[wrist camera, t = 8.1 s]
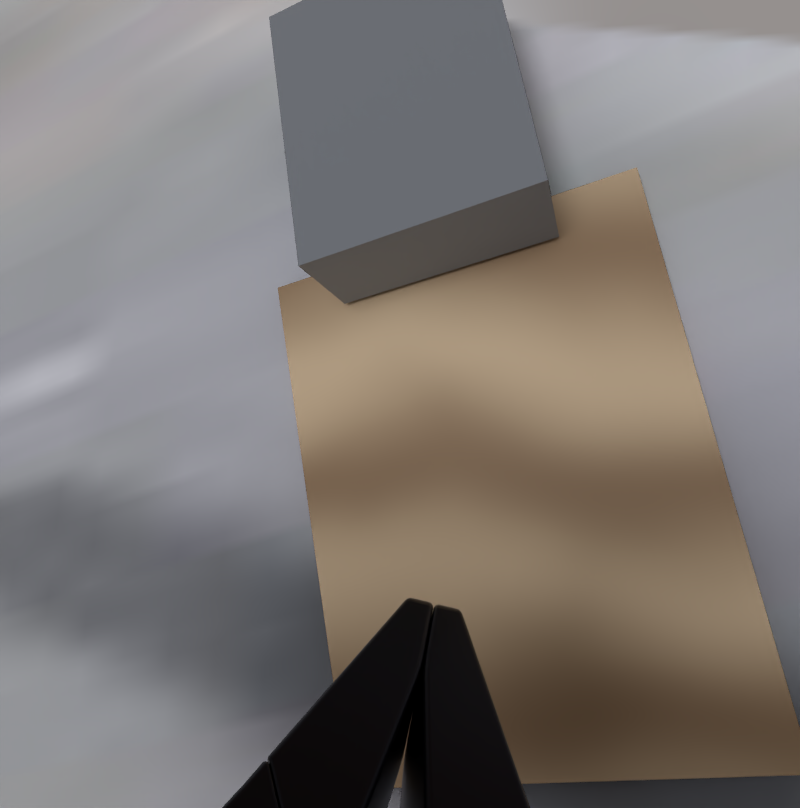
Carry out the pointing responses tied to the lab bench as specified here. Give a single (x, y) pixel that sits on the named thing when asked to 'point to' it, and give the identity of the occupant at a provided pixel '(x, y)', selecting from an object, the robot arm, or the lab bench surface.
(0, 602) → the lab bench surface
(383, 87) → the thick grey slab block
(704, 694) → the cork mat
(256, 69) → the lab bench surface
